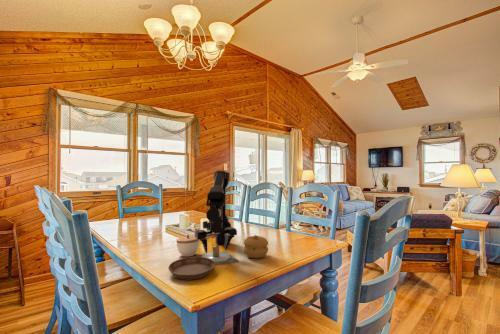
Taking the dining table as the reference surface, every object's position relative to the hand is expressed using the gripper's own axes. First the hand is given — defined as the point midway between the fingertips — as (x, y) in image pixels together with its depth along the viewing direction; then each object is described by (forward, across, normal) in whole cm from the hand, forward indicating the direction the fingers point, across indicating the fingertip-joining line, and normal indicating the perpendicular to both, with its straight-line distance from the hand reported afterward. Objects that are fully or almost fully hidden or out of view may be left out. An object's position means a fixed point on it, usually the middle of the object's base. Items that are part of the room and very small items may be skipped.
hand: (216, 251), depth 120 cm
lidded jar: (+3, +10, -11) cm, 15 cm away
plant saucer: (+3, +14, +12) cm, 19 cm away
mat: (+3, 0, 0) cm, 3 cm away
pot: (+4, -18, +5) cm, 19 cm away
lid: (+3, 0, 0) cm, 3 cm away
